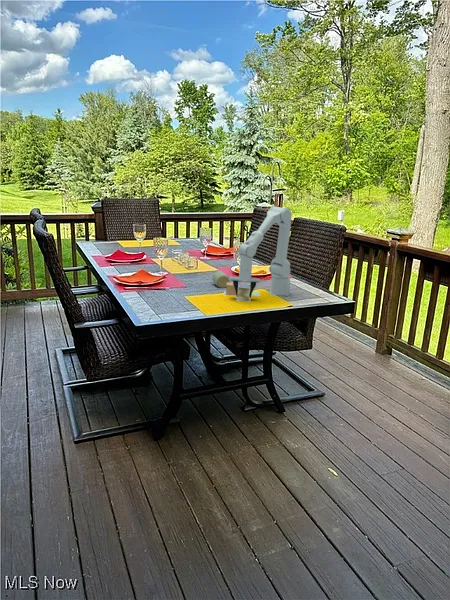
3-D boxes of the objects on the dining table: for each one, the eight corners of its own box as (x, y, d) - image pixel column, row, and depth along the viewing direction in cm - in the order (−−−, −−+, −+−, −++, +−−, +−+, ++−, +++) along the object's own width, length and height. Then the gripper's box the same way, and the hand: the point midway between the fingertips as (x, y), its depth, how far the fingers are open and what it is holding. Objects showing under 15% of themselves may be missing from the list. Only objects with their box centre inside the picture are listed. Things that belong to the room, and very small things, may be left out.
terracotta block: (235, 292, 219) (236, 283, 218) (236, 295, 215) (236, 285, 213) (226, 291, 219) (226, 282, 218) (225, 294, 215) (226, 284, 213)
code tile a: (250, 298, 213) (250, 297, 213) (250, 302, 206) (250, 301, 206) (235, 297, 213) (236, 296, 213) (236, 301, 206) (236, 300, 206)
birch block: (248, 297, 212) (249, 288, 210) (248, 301, 207) (249, 290, 206) (238, 297, 212) (238, 287, 210) (238, 300, 207) (238, 290, 206)
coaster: (259, 292, 224) (259, 291, 224) (260, 297, 216) (260, 296, 216) (241, 290, 224) (241, 290, 224) (241, 295, 216) (242, 295, 216)
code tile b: (237, 292, 221) (237, 292, 220) (237, 296, 214) (238, 296, 214) (224, 291, 221) (224, 291, 220) (223, 295, 214) (223, 295, 214)
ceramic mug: (216, 288, 225) (217, 274, 223) (211, 284, 232) (212, 270, 230) (235, 288, 229) (236, 274, 227) (230, 284, 236) (231, 270, 234)
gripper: (230, 270, 201) (228, 298, 205) (261, 272, 201) (258, 300, 205) (230, 266, 208) (228, 293, 212) (260, 268, 208) (258, 295, 212)
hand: (243, 296), depth 209 cm, fingers open, 6 cm apart
